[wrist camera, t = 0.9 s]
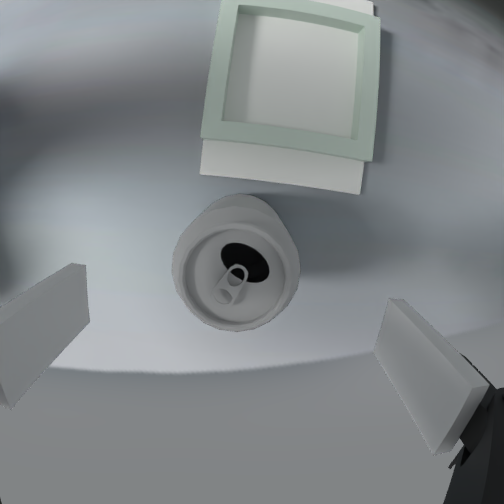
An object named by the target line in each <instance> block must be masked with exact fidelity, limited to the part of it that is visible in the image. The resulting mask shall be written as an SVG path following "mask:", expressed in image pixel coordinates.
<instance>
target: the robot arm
mask: <svg viewBox="0 0 504 504" xmlns="http://www.w3.org/2000/svg"><path fill="white" fill-rule="evenodd" d="M89 322H90V318H89V308H88V295H87V280H86V265H81V264H75V263H71V264H69V265H67V266H66V267H64V268H62V269H61V270H59V271H57V272H56V273H54V274H52V275H51V276H49V277H47V278H46V279H44V280H43V281H41V282H39V283H38V284H36V285H34V286H33V287H31V288H30V289H28V290H27V291H25V292H23V293H22V294H20V295H19V296H17V297H16V298H14V299H13V300H11V301H9V302H8V303H6V304H5V305H3V306H2V307H0V405H2V406H4V407H6V408H8V409H10V410H11V409H12V408H13V407H14V406H15V404H16V403H17V402H18V401H19V400H20V398H21V397H22V396H23V395H24V394H25V393H26V392H27V390H28V389H29V388H30V387H31V386H32V385H33V383H34V382H35V381H36V380H37V379H38V378H39V377H40V375H41V374H42V373H43V372H44V371H45V370H46V369H47V368H48V367H49V365H50V364H51V363H52V362H53V361H54V360H55V359H56V358H57V357H58V356H59V354H60V353H61V352H62V351H63V350H64V349H65V348H66V347H67V346H68V345H69V344H70V343H71V341H72V340H73V339H74V338H75V337H76V336H77V335H78V334H79V333H80V332H81V331H82V330H83V329H84V328H85V327H86V326H87V325H88V323H89ZM373 354H374V355H375V357H376V358H377V360H378V362H379V363H380V365H381V367H382V368H383V370H384V371H385V373H386V375H387V376H388V378H389V380H390V381H391V383H392V385H393V386H394V388H395V390H396V391H397V393H398V395H399V397H400V398H401V400H402V402H403V403H404V405H405V407H406V408H407V410H408V412H409V413H410V415H411V417H412V419H413V421H414V422H415V424H416V426H417V428H418V429H419V431H420V433H421V435H422V436H423V438H424V440H425V442H426V444H427V445H428V447H429V449H430V451H431V452H432V454H433V455H437V454H442V453H446V452H450V451H451V450H452V449H453V447H454V446H455V444H456V443H457V441H458V439H459V438H460V439H461V440H462V442H463V444H464V446H463V447H462V449H461V450H460V451H459V453H458V454H457V456H456V457H455V459H454V460H453V461H452V462H451V464H450V465H449V467H448V468H450V469H451V468H452V466H453V465H454V464H456V465H455V469H454V472H453V476H452V479H451V482H450V485H449V488H448V491H447V494H446V497H445V500H444V503H443V504H504V388H499V389H496V388H495V387H494V386H493V385H492V384H491V383H490V382H489V381H488V380H487V378H485V376H484V375H483V374H482V373H481V372H480V371H478V369H477V368H476V367H475V366H473V365H472V363H471V362H470V361H469V360H468V359H467V358H466V357H465V356H463V355H462V354H460V353H459V352H458V351H456V349H455V348H454V347H452V346H451V344H450V343H449V342H447V340H446V339H445V338H444V337H443V336H441V335H440V334H439V333H438V332H437V331H436V330H435V329H434V328H433V327H432V326H431V325H430V324H429V323H428V322H427V321H426V320H425V319H424V318H423V317H422V316H421V315H420V314H419V313H418V312H416V311H415V310H414V309H413V308H412V307H411V306H410V305H409V304H408V303H407V302H406V301H405V300H404V299H391V298H389V300H388V303H387V307H386V311H385V315H384V318H383V322H382V325H381V329H380V332H379V335H378V339H377V342H376V345H375V348H374V351H373ZM0 504H2V503H1V499H0Z"/></svg>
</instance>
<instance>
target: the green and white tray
mask: <svg viewBox="0 0 504 504" xmlns="http://www.w3.org/2000/svg"><path fill="white" fill-rule="evenodd" d="M379 69H380V18H379V17H376V16H373V2H370V1H366V0H221V5H220V11H219V16H218V21H217V27H216V32H215V38H214V44H213V50H212V56H211V62H210V68H209V75H208V82H207V88H206V95H205V103H204V110H203V118H202V125H201V133H200V138H202V139H203V147H202V156H201V165H200V175H211V176H221V177H231V178H241V179H250V180H259V181H267V182H275V183H283V184H291V185H298V186H305V187H312V188H319V189H325V190H332V191H338V192H344V193H351V194H356V195H360V190H361V183H362V175H363V168H364V162H372V157H373V148H374V139H375V128H376V117H377V104H378V89H379Z"/></svg>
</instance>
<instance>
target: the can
mask: <svg viewBox="0 0 504 504" xmlns="http://www.w3.org/2000/svg"><path fill="white" fill-rule="evenodd" d="M300 272H301V268H300V261H299V254H298V250H297V248H296V246H295V244H294V242H293V240H292V238H291V236H290V234H289V232H288V231H287V229H286V227H285V226H284V224H283V223H282V221H281V219H280V218H279V216H278V215H277V213H276V212H275V210H273V209H272V208H271V207H270V206H269V205H268V204H267V203H266V202H265V201H263V200H261V199H259V198H257V197H255V196H252V195H244V194H235V195H229V196H225V197H223V198H221V199H219V200H217V201H216V202H214V203H212V204H211V205H210V206H209V207H208V208H207V209H206V210H205V211H204V212H203V213H201V214H200V215H199V216H198V217H197V218H196V219H195V220H194V221H193V222H192V223H191V224H190V225H189V227H188V228H187V229H186V230H185V231H184V232H183V233H182V234H181V236H180V238H179V240H178V243H177V245H176V247H175V250H174V252H173V261H172V276H173V279H174V283H175V287H176V291H177V293H178V294H179V296H180V297H181V299H182V300H183V302H184V304H185V305H186V307H187V308H188V309H189V310H190V312H192V313H193V314H194V315H195V316H196V317H197V318H199V319H200V320H201V321H202V322H203V323H205V324H208V325H210V326H212V327H215V328H217V329H219V330H226V331H234V332H239V331H245V330H252V329H255V328H257V327H259V326H262V325H264V324H266V323H268V322H270V321H271V320H272V319H274V318H275V317H276V316H277V315H278V314H279V313H280V312H281V311H283V310H284V309H285V308H286V307H287V306H288V304H289V303H290V301H291V299H292V297H293V296H294V294H295V292H296V290H297V287H298V282H299V277H300Z"/></svg>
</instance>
